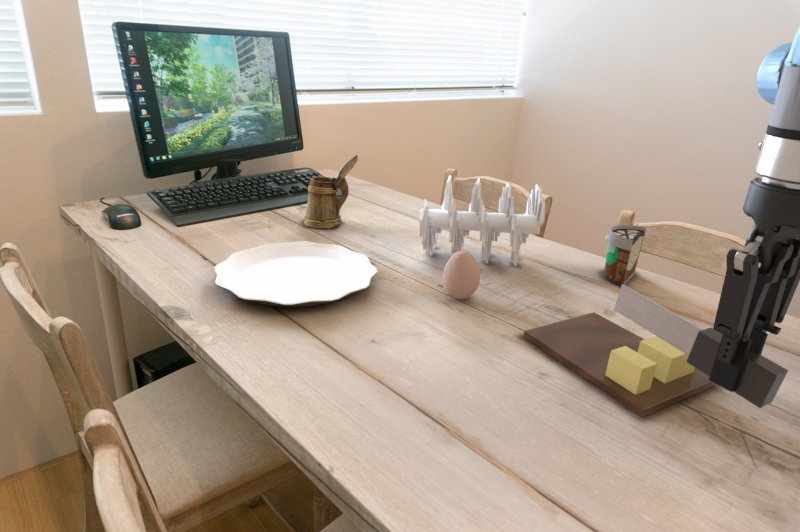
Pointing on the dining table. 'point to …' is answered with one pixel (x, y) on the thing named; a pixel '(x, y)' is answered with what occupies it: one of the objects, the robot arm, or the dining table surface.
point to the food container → (623, 252)
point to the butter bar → (665, 359)
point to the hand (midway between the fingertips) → (729, 381)
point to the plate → (295, 273)
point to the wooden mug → (327, 198)
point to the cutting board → (589, 354)
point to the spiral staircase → (482, 220)
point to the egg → (461, 275)
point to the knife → (701, 346)
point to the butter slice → (630, 370)
